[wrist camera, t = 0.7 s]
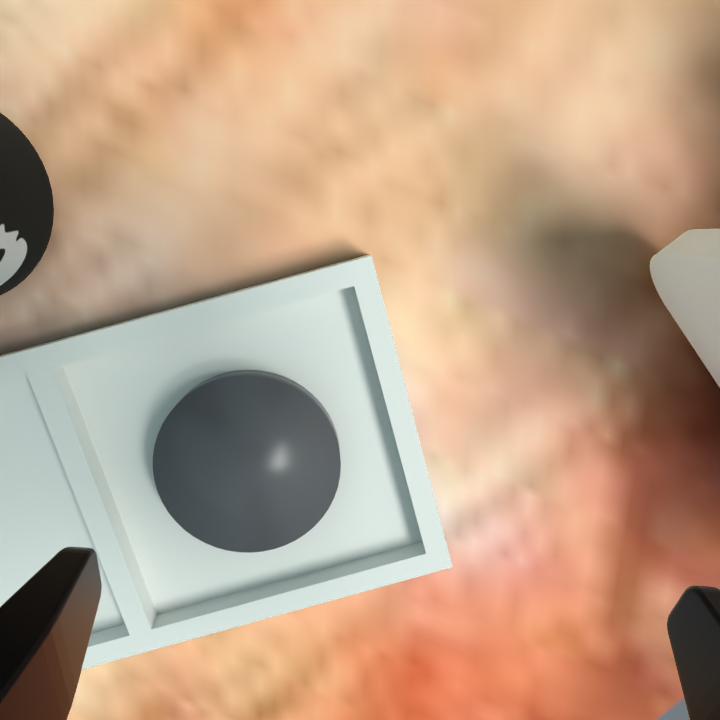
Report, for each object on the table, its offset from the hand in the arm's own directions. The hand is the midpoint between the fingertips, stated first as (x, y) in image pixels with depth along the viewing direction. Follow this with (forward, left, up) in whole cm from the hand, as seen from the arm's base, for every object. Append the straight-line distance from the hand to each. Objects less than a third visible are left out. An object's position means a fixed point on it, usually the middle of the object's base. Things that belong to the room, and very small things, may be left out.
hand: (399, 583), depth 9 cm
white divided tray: (-8, +6, -13) cm, 17 cm away
